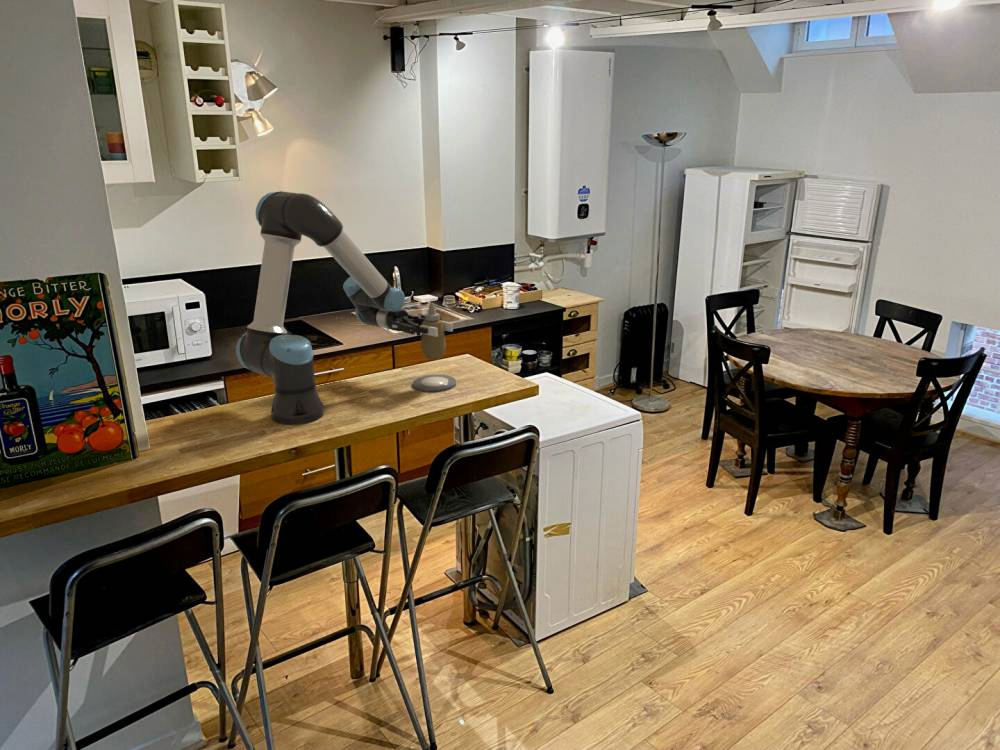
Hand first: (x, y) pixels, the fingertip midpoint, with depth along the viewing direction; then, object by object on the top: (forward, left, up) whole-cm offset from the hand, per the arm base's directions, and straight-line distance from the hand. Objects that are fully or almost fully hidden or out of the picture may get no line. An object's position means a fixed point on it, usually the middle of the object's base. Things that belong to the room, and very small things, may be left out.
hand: (444, 329), depth 239 cm
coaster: (-5, +1, -19) cm, 20 cm away
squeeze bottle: (-5, +1, -10) cm, 11 cm away
